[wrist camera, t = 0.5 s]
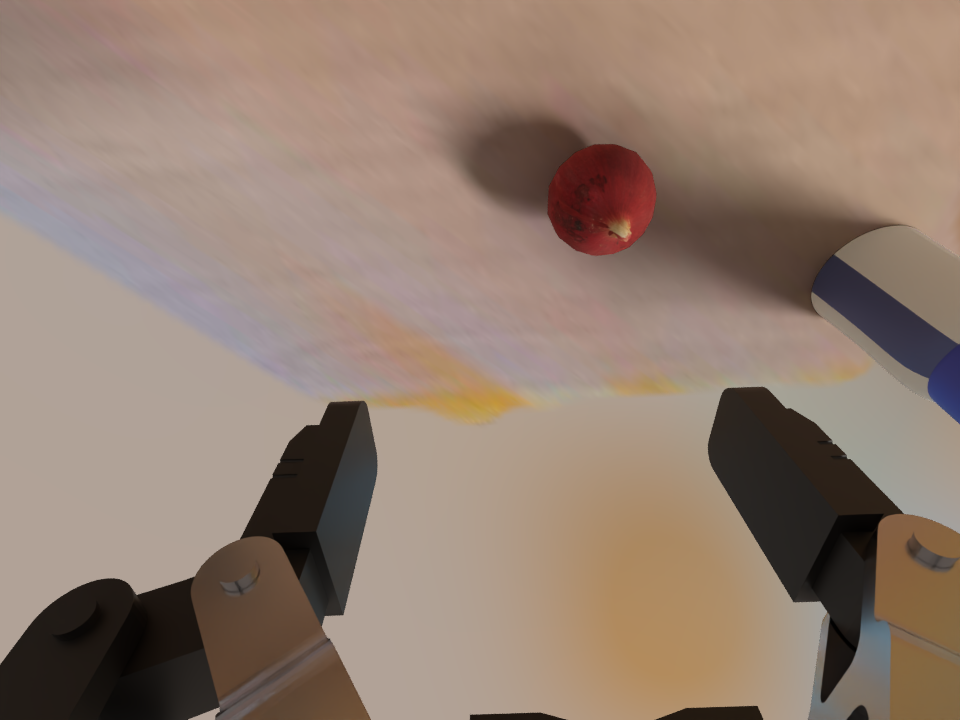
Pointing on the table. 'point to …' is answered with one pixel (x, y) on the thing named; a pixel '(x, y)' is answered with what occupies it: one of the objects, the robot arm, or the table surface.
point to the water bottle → (899, 308)
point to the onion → (601, 199)
